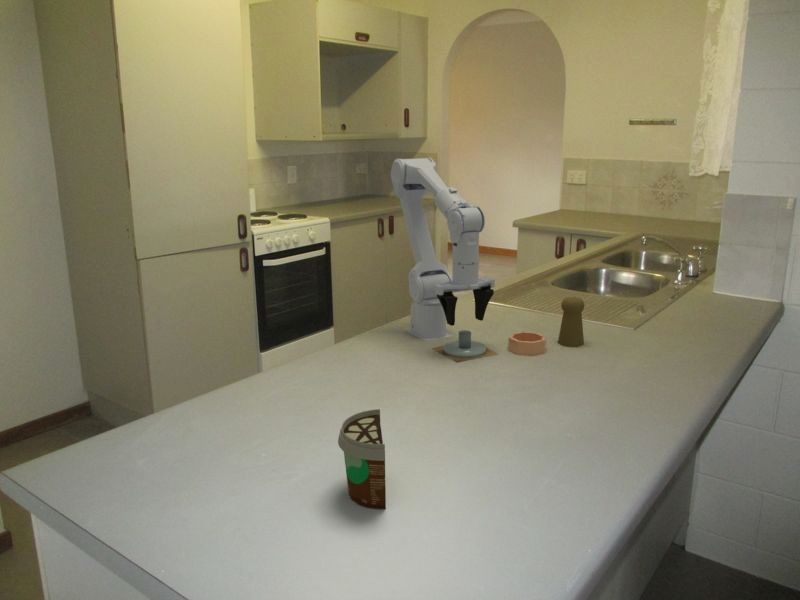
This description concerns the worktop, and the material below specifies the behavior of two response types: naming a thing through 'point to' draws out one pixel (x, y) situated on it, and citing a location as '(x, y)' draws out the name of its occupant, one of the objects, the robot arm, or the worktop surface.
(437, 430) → the worktop surface
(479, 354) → the lid
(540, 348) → the pot
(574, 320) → the cork
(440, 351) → the board
